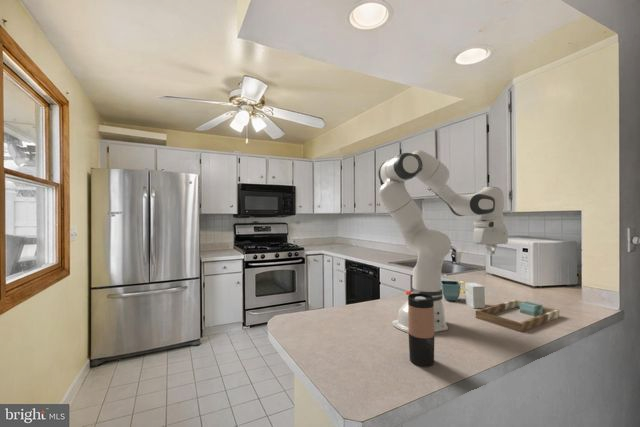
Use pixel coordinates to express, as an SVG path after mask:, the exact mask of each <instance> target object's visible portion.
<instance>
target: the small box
mask: <svg viewBox="0 0 640 427" xmlns="http://www.w3.org/2000/svg"><path fill="white" fill-rule="evenodd" d="M464 286H465V288H464V289H465V290H464V292H465V304H466V305H467V306H469V307H471V308H473V309H484V308H486V297H485V296H486V295H485V292H486V291H485V286H484V285H482V284H480V283H478V282H465V285H464Z"/></svg>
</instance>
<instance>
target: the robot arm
mask: <svg viewBox="0 0 640 427" xmlns="http://www.w3.org/2000/svg"><path fill="white" fill-rule="evenodd" d="M377 175H378V178H379V182H380V188H379V189H378V195H379V197H380V200H381V202H382V203H383V204H382V205H383V206H384V207H385V209H386V210H387V212H388V213H389V215H390V216H391V217H392V219H393V221H394V222H395V224H396V226H398V228H399V230H400V232H401V234H402V236H403V239H404V245H405V247H407V249H408V250H409V251H411V253H414V254H417V260H416V264H415V266H414V267H413V268H412V288H411V290H409V289H406V290H405V295H406V296H409V295H410V294H417V293H418V294H427V295H430V296H432V297H433V299H434V333H435V332H436V333H437V332H442V331H447V330H449V328H448V327H449V326H448V325H447V322H446V315H445V314H446V313H445V307H444V304H443V300H442V299H443V296H444V295H443V293H442V289H441V281H442V270H443V269H442V267H443V265H444V262H445V257H447V255H448V254H449V253H450V251H451V249H452V241H451V238H450V237H449V236H448V235H447V234H446V233H444V232H442V231H439V230H436V229H429V228H428V227H427V226H426V225H425V222H424V220H423V212H422V210H421V209H420V207H419V206H418V205H417V203H416V201H415V200H414V199H413V197H412V195H411V194H410V193H409V192H408V190H407V188H406V184H405V182H406V181H409V180H412V179H413V178H416V179H417V180H419V181H420V182H421V183H423V184H424V185H425V186H426V187H428V188H429V189H430V190H431V192H433V193H434V194H435V195H436V196H437V197H438V198H439V199H440V200H442V201H443V202H444V203H445V204H446V205H447V207H448V208H449V210H450V211H451V213H452V214H453V215H454V216H455V215H456V216H458V217H465V216H469V217H470V216H480V219H478V220H475V221H473V228H474V229H473V243H474V244H475V245H479V246H480V245H482V246H483V245H484V246H485V248H486V253H487V255H495V254H496V250H497V247H498V245H506V244H507V243H509V236H508V234H509V233H508V228H507V227H506V225H505V224H504V217H505V216H504V214H503V212H504V208H505V197H504V192H503V190H502V189H501V188H500V187H496V186H485V187H483V188H482V189H481V190H479V191H477V192H474V193H470V194H469V193H468V194H460V193H457V192H455V191H454V190H453V188H451V187H450V186H449V185H448V184H447V183H448V180H449V179H450V170H449V168H448V167H447V166H446V165H445V164H444V163H443V162H442V161H441V160H439V159H437V158H436V157H435V156H433V155H431V154H430V153H427V152H426V151H423V150H421V149H420V150H419V149H418V150H415V151H412V152H403V153H400V154H398V155H396V156H392V157H390V158H389V159H388V160H386V161H384V162H383V163H382V164H380V166H379V168H378V170H377ZM391 325H392V326H394V327H395V328H397V329H398V330H400V331H403V332H405V333H407V334H408V300H407V301H406V302H404V304H403V305H402V306H401V307H400V308H399V309H398V313H397V319H394V320H392V321H391Z"/></svg>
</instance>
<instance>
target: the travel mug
mask: <svg viewBox="0 0 640 427" xmlns="http://www.w3.org/2000/svg"><path fill="white" fill-rule="evenodd" d="M407 301H408V333H407V334H408V349H409V360H410V362H411V363H412V364H413V365H415V366H418V367H423V368H429V367H432V366H433V365H434V363H435V332H434V299H433V297H432V296H430V295H427V294H418V293H417V294H410V295H407Z"/></svg>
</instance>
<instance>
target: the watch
mask: <svg viewBox="0 0 640 427" xmlns="http://www.w3.org/2000/svg"><path fill="white" fill-rule="evenodd" d="M465 283H466V281H462V280H461V281H459V284H460V285H461V284H463V285H464V286H465ZM460 293H465V290H464V291H463V290H462V289H461V287H460Z"/></svg>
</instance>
